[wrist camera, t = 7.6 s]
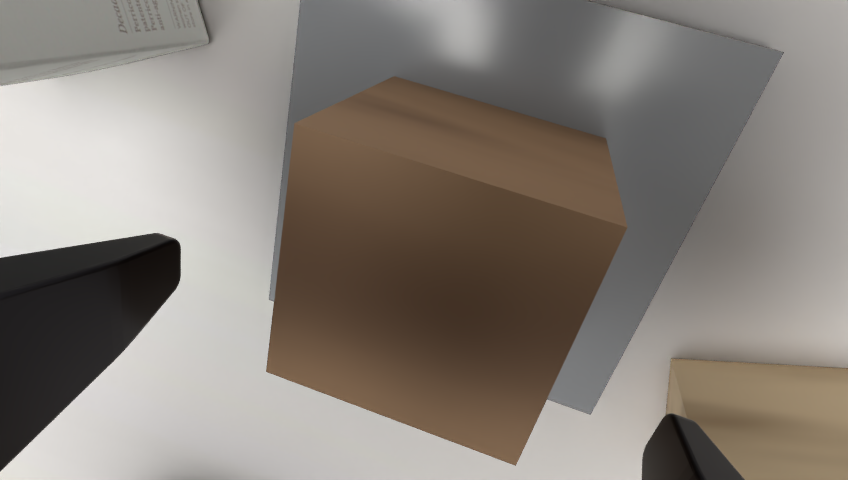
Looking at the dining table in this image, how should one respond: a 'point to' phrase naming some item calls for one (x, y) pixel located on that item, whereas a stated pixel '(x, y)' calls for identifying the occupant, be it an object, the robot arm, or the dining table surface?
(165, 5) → the supplement box
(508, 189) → the walnut cube
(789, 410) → the oak cube
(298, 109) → the plate
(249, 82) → the dining table surface
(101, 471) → the dining table surface
